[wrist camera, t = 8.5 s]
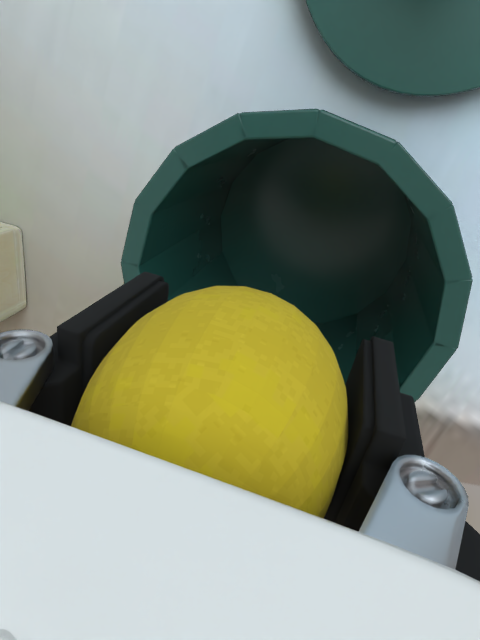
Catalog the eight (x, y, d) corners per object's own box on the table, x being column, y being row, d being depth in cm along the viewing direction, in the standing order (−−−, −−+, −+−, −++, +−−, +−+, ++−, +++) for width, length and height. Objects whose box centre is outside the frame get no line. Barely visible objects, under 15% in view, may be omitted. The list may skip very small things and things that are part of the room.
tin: (253, 82, 22) (168, 45, 12) (473, 174, 21) (564, 211, 11) (189, 280, 28) (98, 358, 18) (357, 359, 27) (353, 484, 18)
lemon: (146, 327, 14) (-85, 535, 7) (257, 207, 11) (69, 340, 4) (262, 436, 14) (164, 734, 7) (394, 347, 12) (443, 681, 5)
